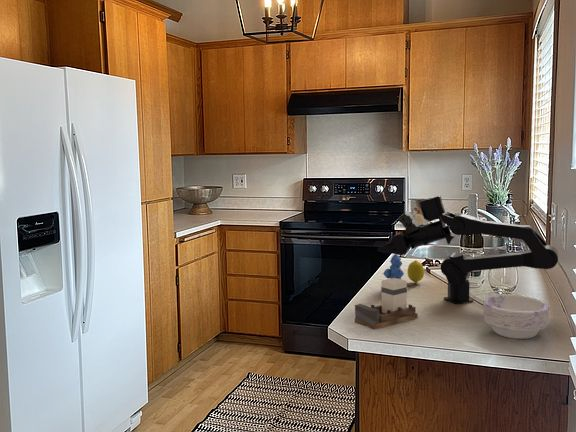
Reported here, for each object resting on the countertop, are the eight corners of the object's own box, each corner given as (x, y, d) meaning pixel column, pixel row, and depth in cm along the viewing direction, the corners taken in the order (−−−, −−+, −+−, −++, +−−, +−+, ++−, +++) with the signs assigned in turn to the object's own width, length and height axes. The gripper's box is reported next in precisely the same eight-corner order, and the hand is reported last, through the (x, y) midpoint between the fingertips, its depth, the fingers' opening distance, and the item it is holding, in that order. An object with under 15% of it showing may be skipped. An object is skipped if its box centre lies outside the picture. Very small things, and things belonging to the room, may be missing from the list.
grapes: (381, 286, 190) (381, 251, 189) (401, 286, 190) (401, 251, 188) (384, 296, 179) (384, 258, 177) (406, 295, 178) (406, 258, 177)
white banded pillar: (394, 308, 160) (394, 277, 158) (406, 312, 156) (406, 280, 155) (381, 312, 157) (381, 280, 156) (393, 316, 153) (393, 283, 152)
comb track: (396, 311, 162) (396, 294, 162) (417, 317, 156) (417, 300, 155) (354, 322, 154) (354, 304, 153) (374, 329, 147) (374, 311, 146)
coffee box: (427, 226, 321) (427, 198, 319) (428, 228, 315) (428, 199, 313) (410, 226, 323) (410, 198, 321) (411, 228, 316) (411, 199, 314)
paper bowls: (553, 345, 132) (554, 312, 131) (484, 341, 136) (485, 309, 135) (542, 325, 147) (543, 295, 146) (481, 322, 151) (481, 293, 150)
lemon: (405, 284, 193) (405, 261, 192) (410, 280, 198) (410, 258, 197) (421, 285, 190) (421, 262, 189) (425, 282, 195) (425, 259, 194)
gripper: (427, 205, 181) (382, 219, 188) (413, 212, 165) (364, 227, 172) (438, 238, 181) (393, 251, 188) (425, 248, 164) (376, 262, 171)
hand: (382, 247), depth 180 cm, fingers open, 9 cm apart
